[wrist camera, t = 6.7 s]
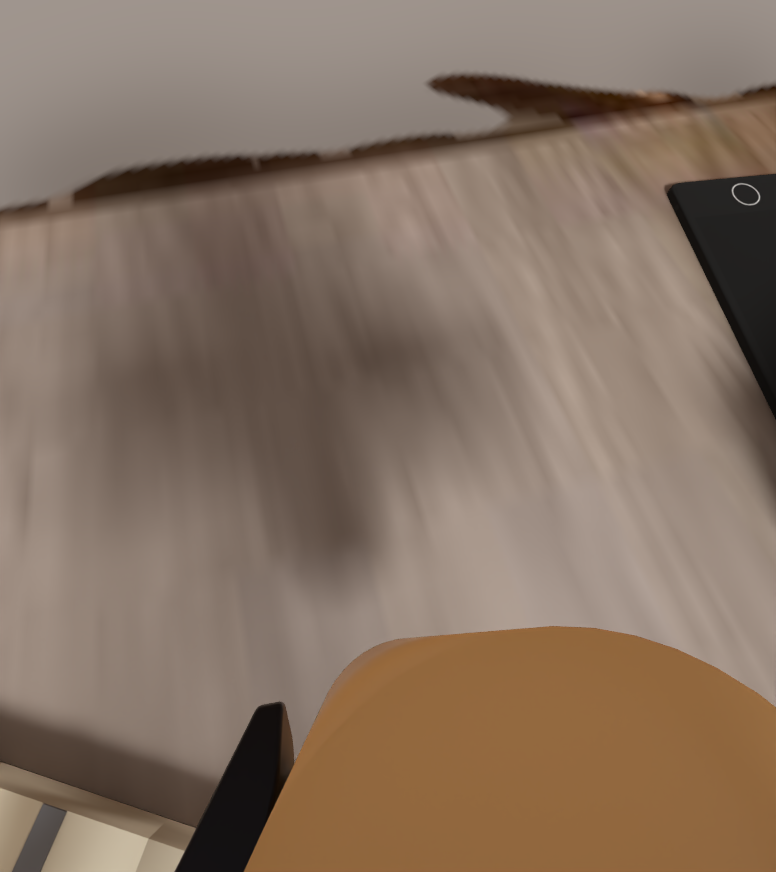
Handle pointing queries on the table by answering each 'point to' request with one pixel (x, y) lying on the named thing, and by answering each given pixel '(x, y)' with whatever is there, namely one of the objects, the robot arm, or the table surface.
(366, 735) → the orange rounded cylinder
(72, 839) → the subfloor panel
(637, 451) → the table surface
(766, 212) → the cell phone
